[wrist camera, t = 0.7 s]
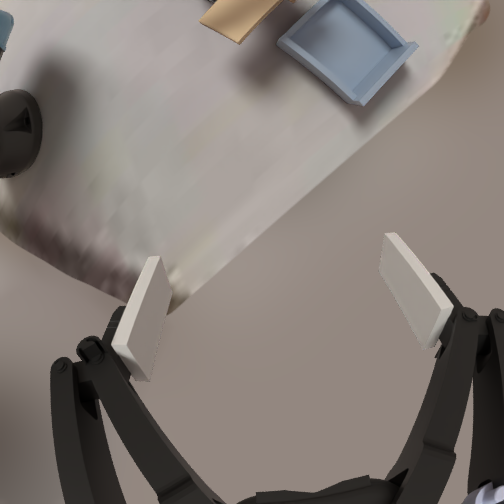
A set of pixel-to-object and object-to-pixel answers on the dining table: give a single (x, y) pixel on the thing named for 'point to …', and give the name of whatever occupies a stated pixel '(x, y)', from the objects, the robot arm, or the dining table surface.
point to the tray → (347, 48)
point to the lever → (237, 17)
